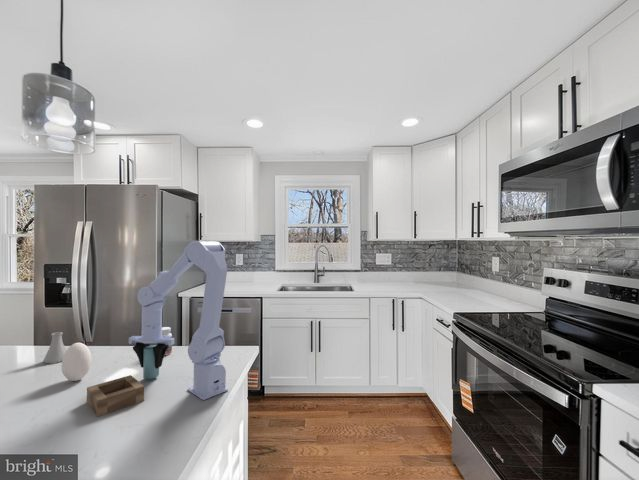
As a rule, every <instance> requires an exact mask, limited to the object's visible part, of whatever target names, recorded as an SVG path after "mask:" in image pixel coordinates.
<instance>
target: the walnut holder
mask: <svg viewBox="0 0 639 480" xmlns="http://www.w3.org/2000/svg"><path fill="white" fill-rule="evenodd" d="M144 401H145V385H144V384H142V383H141V382H140V381H138V380H137V379H136V378H135V377H133V375H131V374H129V375H126V376H122V377H119V378H116V379H112V380H109V381H105V382H102V383H97V384H95V385H92V386H91V385H90V386H88V387H86V404H88V407H90V409H91V411H93V413H94V414H95V415H96V417H97V418H99V417H101V416H104V415H106V414H110V413H112V412H116V411H119V410H121V409H124V408H127V407H130V406H133V405H136V404H138V403H142V402H144Z"/></svg>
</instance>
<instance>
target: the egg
mask: <svg viewBox="0 0 639 480" xmlns="http://www.w3.org/2000/svg"><path fill="white" fill-rule="evenodd" d="M91 366H92V354H91V351H90V349H89V347H88V346H87V345H86V344H84V343H83V342H74V343H73V344H71V345H70V346H69V347H68V348H67V349H66V352H65V354H64V357H63V359H62V361H61V372H62V374H63V376H64V378H65V379H67V380H68V381H71V382H78V381H79V380H82V379H84V377H85V376H86V375H87V374H88V373H89V371H90V369H91Z"/></svg>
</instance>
